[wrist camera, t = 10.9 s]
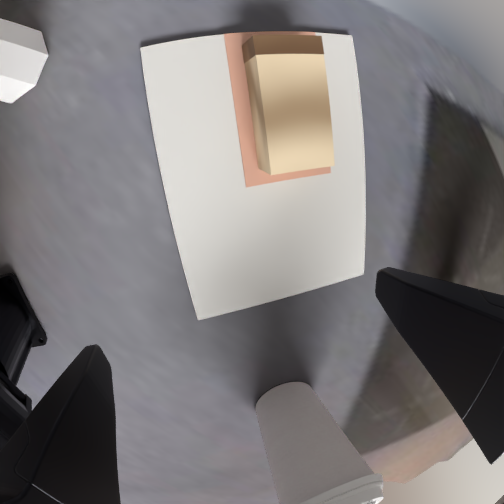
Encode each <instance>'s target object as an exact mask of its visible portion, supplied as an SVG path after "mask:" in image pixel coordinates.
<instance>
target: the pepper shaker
mask: <svg viewBox="0 0 504 504" xmlns="http://www.w3.org/2000/svg"><path fill="white" fill-rule="evenodd" d="M47 57H48V52H47V49H46V45H45V42H44V39H43V35H42V32H41V31H38V30H35V29H32V28H30V27H27V26H24V25H20V24H17V23H14V22H11V21H8V20H4V19H1V18H0V101H3V102H7V103H13V102H14V101H15V100H17V99H18V98H19V97H21V96H22V95H23V94H25V93H26V92H27V91H29V90H30V89H31V88H33V87H34V86H36V84H37V81H38V78H39V76H40V74H41V71H42V69H43V66H44V64H45V62H46V60H47Z"/></svg>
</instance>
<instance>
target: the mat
mask: <svg viewBox="0 0 504 504" xmlns="http://www.w3.org/2000/svg"><path fill="white" fill-rule="evenodd" d="M279 34H281V35H316V36H322V42H323V49H324V60H325V68H326V75H327V84H328V92H329V102H330V112H331V122H332V134H333V148H334V163H335V166H330V167H322V168H315V169H308V170H302V171H295V172H288V173H282V174H276V175H270V174H268V173H266V172H264V171H262V170H260V169H259V168H258V160H257V153H256V145H255V137H254V129H253V121H252V114H251V106H250V99H249V91H248V84H247V77H246V70H245V63H244V59H243V52H242V45H243V44H244V43H245V42H246V41H247V40H248V39H249V38H250V37H251V36H252V35H279ZM140 50H141V58H142V65H143V73H144V80H145V87H146V93H147V100H148V106H149V112H150V118H151V124H152V129H153V135H154V140H155V146H156V151H157V156H158V161H159V166H160V171H161V176H162V181H163V185H164V190H165V195H166V199H167V203H168V208H169V212H170V217H171V221H172V225H173V229H174V233H175V237H176V241H177V245H178V249H179V253H180V257H181V261H182V265H183V269H184V272H185V276H186V280H187V283H188V287H189V291H190V294H191V298H192V301H193V305H194V308H195V312H196V315H197V318H198V320H201V319H205V318H210V317H214V316H218V315H222V314H226V313H230V312H234V311H237V310H241V309H245V308H249V307H253V306H257V305H260V304H264V303H268V302H271V301H275V300H279V299H282V298H286V297H289V296H293V295H296V294H300V293H303V292H307V291H310V290H314V289H317V288H320V287H324V286H327V285H330V284H334V283H337V282H340V281H344V280H347V279H350V278H353V277H356V276H360V275H363V274H364V259H365V230H366V181H365V152H364V135H363V121H362V109H361V99H360V89H359V80H358V72H357V65H356V58H355V51H354V45H353V39H352V36H350V35H341V34H329V33H315V32H298V31H263V32H241V33H228V34H222V35H212V36H203V37H196V38H189V39H182V40H176V41H171V42H165V43H160V44H155V45H150V46H146V47H141V48H140Z"/></svg>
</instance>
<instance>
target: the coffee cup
mask: <svg viewBox="0 0 504 504" xmlns="http://www.w3.org/2000/svg"><path fill="white" fill-rule="evenodd" d="M255 410H256V415H257V419H258V423H259V427H260V431H261V434H262V438H263V442H264V446H265V450H266V454H267V458H268V462H269V465H270V469H271V473H272V477H273V480H274V484H275V488H276V492H277V495H278V499H279V503H280V504H378V503H379V502H380V501H381V500H382V499H383V492H382V488H383V485H384V484H383V477H382V474H380V473H376V474H374V472H373V471H372V470H371V468H370V467H369V466H368V465H367V463H366V462H365V461H364V459H363V458H362V457H361V455H360V454H359V453H358V451H357V450H356V449H355V447H354V446H353V445H352V443H351V442H350V441H349V439H348V438H347V437H346V435H345V434H344V432H343V431H342V430H341V428H340V427H339V426H338V424H337V423H336V421H335V420H334V419H333V417H332V416H331V414H330V413H329V412H328V410H327V409H326V407H325V406H324V405H323V403H322V402H321V400H320V399H319V398H318V396H317V395H316V393H315V392H314V391H313V389H312V388H311V386H310V385H308V384H306V383H304V382H289V383H285V384H281V385H279V386H276V387H274V388H272V389H271V390H269V391H267V392H266V393H265V394H264V395H262V396H261V397H260V399H259V400H258V402H257V403H256V407H255Z"/></svg>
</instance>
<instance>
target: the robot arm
mask: <svg viewBox="0 0 504 504" xmlns="http://www.w3.org/2000/svg"><path fill="white" fill-rule="evenodd" d="M10 279H11V280H12V282H11V281H10ZM375 293H376V297H377V299H378V300H379V302H380V304H381V305H382V307H383V308H384V310H385V311H386V313H387V315H388V316H389V318H390V319H391V321H392V323H393V324H394V326H395V327H396V329H397V330H398V332H399V333H400V335H401V336H402V337H403V339H404V340H405V341H406V342H407V344H408V345H409V346H410V348H411V349H412V350H413V352H414V353H415V354H416V356H417V357H418V358H419V360H420V361H421V362H422V364H423V365H424V366H425V368H426V369H427V371H428V372H429V373H430V375H431V376H432V377H433V379H434V380H435V382H436V383H437V384H438V386H439V387H440V389H441V390H442V392H443V393H444V394H445V396H446V397H447V399H448V400H449V402H450V403H451V404H452V406H453V407H454V409H455V410H456V412H457V413H458V415H459V416H460V418H461V419H462V420H463V422H464V424H465V425H466V427H467V428H468V430H469V432H470V433H471V435H472V436H473V438H474V439H475V441H476V442H477V444H478V445H479V447H480V449H481V450H482V452H483V453H484V455H485V457H486V458H487V460H488V462H489V463H490V464H493V463H494V462H495V461H496V460H497V459H498V458H499V457H500V456H501V455H502V454H503V453H504V295H499V294H495V293H491V292H487V291H483V290H478V289H475V288H471V287H467V286H463V285H459V284H456V283H452V282H448V281H444V280H440V279H436V278H432V277H428V276H424V275H419V274H415V273H411V272H407V271H403V270H399V269H395V268H391V267H387V268H384V269H381V270H379V271H378V272H377V278H376V289H375ZM40 338H41V339H40ZM42 339H43V340H42ZM46 342H47V337H46V335H45V333H44V331H43V330H42V328H41V326H40V324H39V322H38V320H37V319H36V317H35V315H34V313H33V311H32V309H31V307H30V305H29V303H28V301H27V299H26V297H25V295H24V293H23V291H22V289H21V287H20V284H19V282H18V280H17V278H16V276H15V275H14V274H12V273H9V274H6V275H2V276H0V504H121V503H120V493H119V483H118V470H117V453H116V416H115V403H114V394H113V383H112V371H111V366H110V364H109V362H108V360H107V358H106V357H105V355H104V353H103V351H102V349H101V348H100V346H99V345H97V344H95V345H90V346H86V347H85V348H84V349H83V350H82V351H81V352H80V353H79V355H78V356H77V357H76V358H75V359H74V360H73V362H72V363H71V364H70V365H69V366H68V368H67V369H66V370H65V371H64V372H63V373H62V375H61V376H60V377H59V378H58V379H57V381H56V382H55V383H54V384H53V386H52V387H51V388H50V389H49V390H48V392H47V393H46V394H45V395H44V397H43V398H42V399H41V400H40V402H39V403H38V404H37V405H36V407H35V408H34V409H33V410H32V400H31V398H29V397H28V396H27V395H26V394H24V393H23V392H22V391H21V390H19V389H18V388H17V387H16V385H17V383H18V380H19V377H20V374H21V372H22V369H23V367H24V364H25V362H26V359H27V357H28V354H29V352H30V349H31V347H36V346H42V345H45V344H46ZM495 504H504V495H503V496H502V498H500V499H499V500H498V501H497V502H496V503H495Z"/></svg>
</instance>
